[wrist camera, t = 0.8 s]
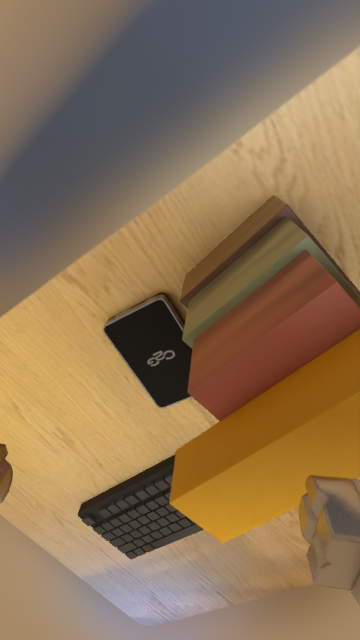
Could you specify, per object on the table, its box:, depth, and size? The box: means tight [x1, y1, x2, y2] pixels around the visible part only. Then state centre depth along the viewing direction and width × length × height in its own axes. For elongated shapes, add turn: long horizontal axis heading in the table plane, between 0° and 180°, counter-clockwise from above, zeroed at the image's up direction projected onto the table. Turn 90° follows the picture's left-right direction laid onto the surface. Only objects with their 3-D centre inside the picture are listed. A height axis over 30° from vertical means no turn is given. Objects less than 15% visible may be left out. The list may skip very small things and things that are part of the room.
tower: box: [180, 195, 360, 421], centre depth 23 cm, size 10×10×17 cm
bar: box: [169, 329, 360, 543], centre depth 14 cm, size 4×14×3 cm, turn 135°
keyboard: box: [78, 455, 204, 559], centre depth 42 cm, size 35×11×2 cm, turn 129°
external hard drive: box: [103, 293, 193, 408], centre depth 34 cm, size 7×11×2 cm, turn 30°
